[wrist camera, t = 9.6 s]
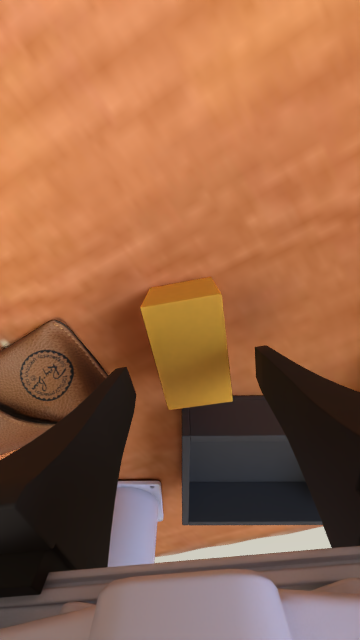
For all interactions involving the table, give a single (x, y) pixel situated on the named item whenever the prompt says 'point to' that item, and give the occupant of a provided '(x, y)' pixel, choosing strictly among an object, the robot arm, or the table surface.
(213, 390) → the block
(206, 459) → the tub
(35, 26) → the table surface
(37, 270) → the table surface
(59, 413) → the sunglasses case
